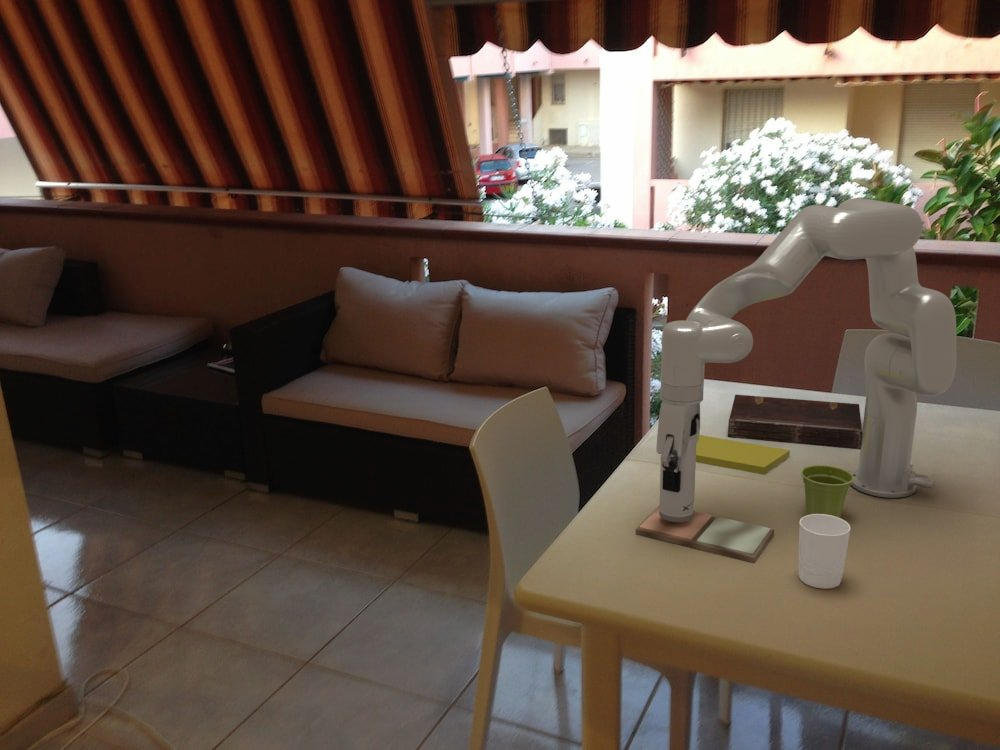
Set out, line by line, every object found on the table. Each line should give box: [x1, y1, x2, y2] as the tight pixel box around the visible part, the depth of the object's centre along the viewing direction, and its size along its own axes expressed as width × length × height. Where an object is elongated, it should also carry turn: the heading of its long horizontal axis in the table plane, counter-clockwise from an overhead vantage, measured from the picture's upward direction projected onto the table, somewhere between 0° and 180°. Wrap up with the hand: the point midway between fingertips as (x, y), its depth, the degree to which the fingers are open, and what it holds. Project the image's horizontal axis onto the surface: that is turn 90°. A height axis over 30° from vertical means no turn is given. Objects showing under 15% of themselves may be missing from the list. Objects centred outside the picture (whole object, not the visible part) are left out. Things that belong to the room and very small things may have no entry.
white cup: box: [798, 514, 852, 590], centre depth 153 cm, size 8×8×10 cm
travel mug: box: [658, 413, 699, 523], centre depth 170 cm, size 6×7×20 cm
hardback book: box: [727, 394, 863, 450], centre depth 220 cm, size 29×19×5 cm, turn 72°
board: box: [635, 505, 775, 564], centre depth 170 cm, size 22×12×1 cm, turn 59°
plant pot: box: [800, 464, 854, 518], centre depth 175 cm, size 9×9×9 cm
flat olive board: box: [696, 434, 791, 476], centre depth 205 cm, size 12×2×24 cm
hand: (678, 482), depth 170 cm, fingers closed on travel mug, 6 cm apart
